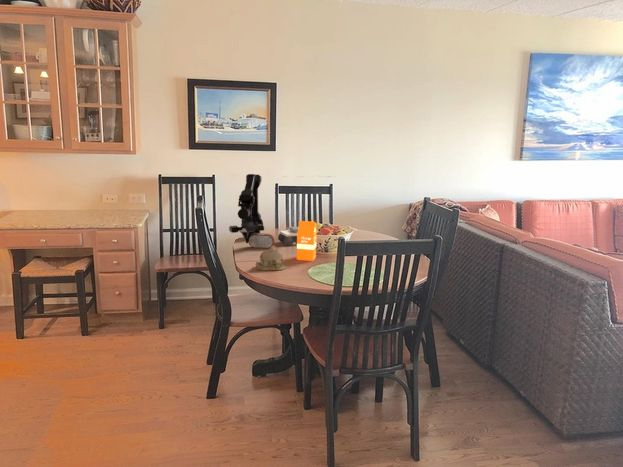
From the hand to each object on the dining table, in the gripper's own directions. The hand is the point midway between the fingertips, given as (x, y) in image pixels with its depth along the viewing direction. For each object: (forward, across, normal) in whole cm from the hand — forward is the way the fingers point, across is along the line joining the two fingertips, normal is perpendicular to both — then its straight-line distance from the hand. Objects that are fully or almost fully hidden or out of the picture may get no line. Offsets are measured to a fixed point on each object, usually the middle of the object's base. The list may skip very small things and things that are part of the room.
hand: (246, 243), depth 261 cm
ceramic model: (+4, 0, -38) cm, 39 cm away
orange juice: (+4, +24, -29) cm, 38 cm away
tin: (+4, +8, 0) cm, 9 cm away
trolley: (+4, +29, +4) cm, 29 cm away
